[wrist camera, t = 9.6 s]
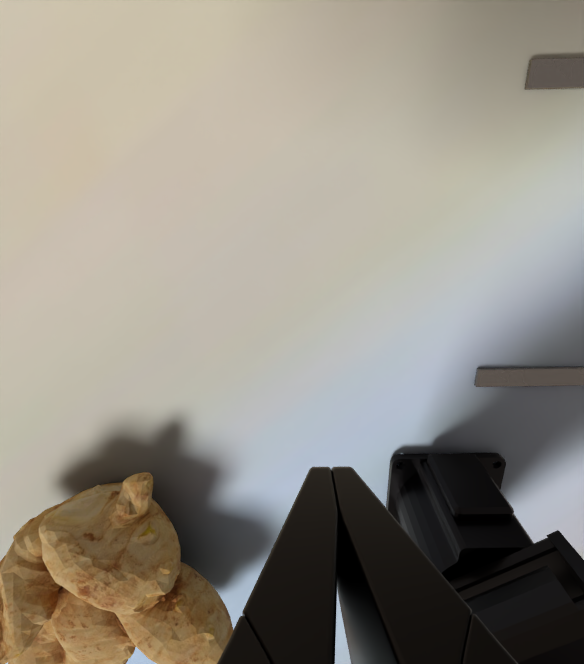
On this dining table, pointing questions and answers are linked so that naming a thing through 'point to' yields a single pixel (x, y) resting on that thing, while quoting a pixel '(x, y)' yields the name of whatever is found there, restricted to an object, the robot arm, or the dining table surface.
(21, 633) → the ginger root
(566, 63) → the rails
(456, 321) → the dining table surface
